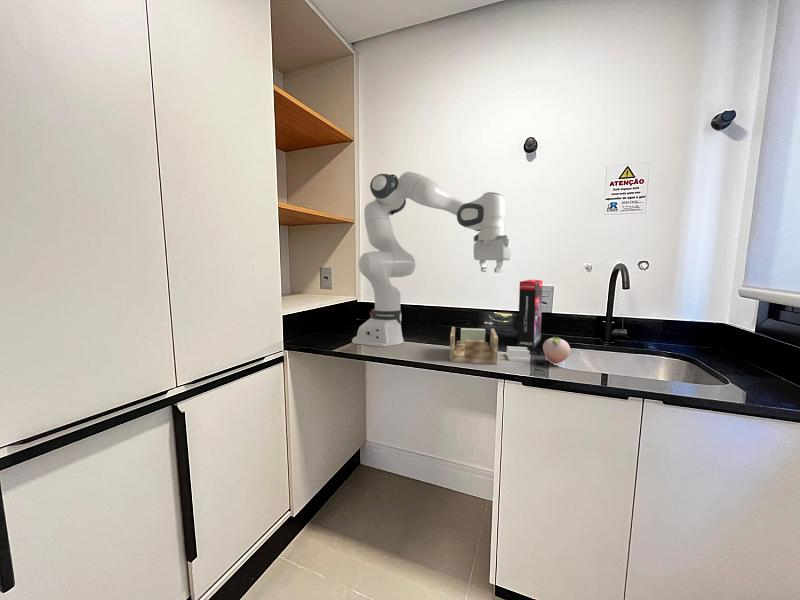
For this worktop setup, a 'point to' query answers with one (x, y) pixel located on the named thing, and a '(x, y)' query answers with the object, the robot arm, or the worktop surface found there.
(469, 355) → the offcut lower
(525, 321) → the graphics card box
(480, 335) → the sheet
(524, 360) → the holder
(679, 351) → the worktop surface
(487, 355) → the rack
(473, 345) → the offcut upper
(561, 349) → the decorative fruit
